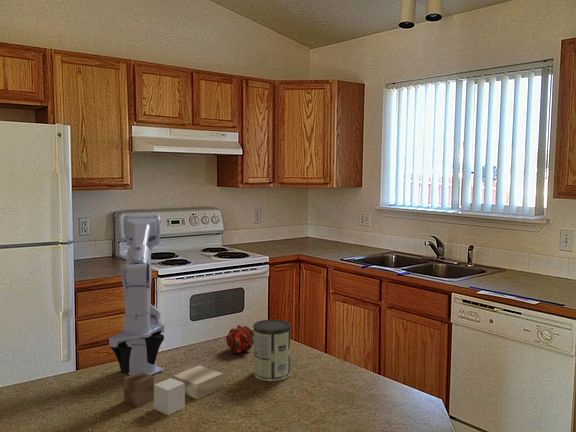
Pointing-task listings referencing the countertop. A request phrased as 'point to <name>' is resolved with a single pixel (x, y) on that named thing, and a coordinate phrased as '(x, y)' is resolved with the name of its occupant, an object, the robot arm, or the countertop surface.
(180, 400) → the off-white block
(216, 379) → the birch base block
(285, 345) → the coffee can
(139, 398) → the walnut block
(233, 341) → the dragon fruit
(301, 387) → the countertop surface
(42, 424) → the countertop surface
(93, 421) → the countertop surface
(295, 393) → the countertop surface
